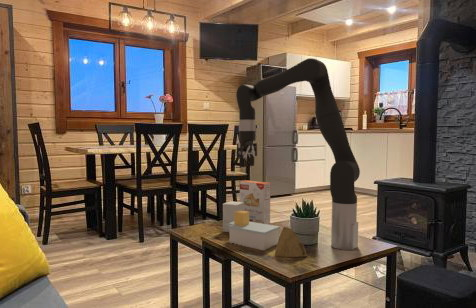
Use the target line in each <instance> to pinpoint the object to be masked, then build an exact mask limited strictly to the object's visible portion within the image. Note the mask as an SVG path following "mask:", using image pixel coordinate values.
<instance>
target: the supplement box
mask: <svg viewBox="0 0 476 308" xmlns="http://www.w3.org/2000/svg"><path fill="white" fill-rule="evenodd" d="M240 210H241V211H244V203H243V202H240V201H233V200H231V201H230V200H229V201H227V202H224V203H222V232H224V233H225V232H226V233H230V228H229V226H230V225H228V223H231V222H234V212H236V211H240Z"/></svg>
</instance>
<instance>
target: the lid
mask: <svg viewBox="0 0 476 308" xmlns="http://www.w3.org/2000/svg"><path fill="white" fill-rule="evenodd" d="M228 225H230V226H229V228H231V229H236V230H242V231H247V232H253V233H258V234H263V235H265V234H268V233H270V232H273V231H275V230H278V229H279V230H280V229H281V226H280V225H273V224H270V225H268V224H262V223H256V222H249V212H248V211H241V210H240V211H236V212H234V222H231V223H228Z"/></svg>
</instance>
